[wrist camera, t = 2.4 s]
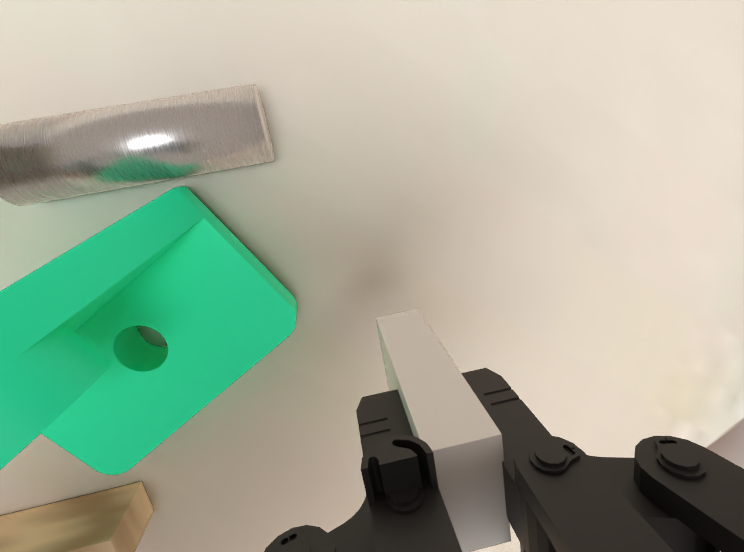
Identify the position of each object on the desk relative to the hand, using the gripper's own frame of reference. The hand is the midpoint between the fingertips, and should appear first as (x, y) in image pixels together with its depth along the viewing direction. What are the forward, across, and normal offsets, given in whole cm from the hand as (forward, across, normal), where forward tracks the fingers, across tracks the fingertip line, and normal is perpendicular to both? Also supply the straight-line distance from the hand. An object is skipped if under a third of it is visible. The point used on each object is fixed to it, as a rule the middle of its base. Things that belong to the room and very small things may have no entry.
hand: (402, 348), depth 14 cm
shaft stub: (+5, -8, +10) cm, 14 cm away
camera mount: (+7, -11, 0) cm, 13 cm away
